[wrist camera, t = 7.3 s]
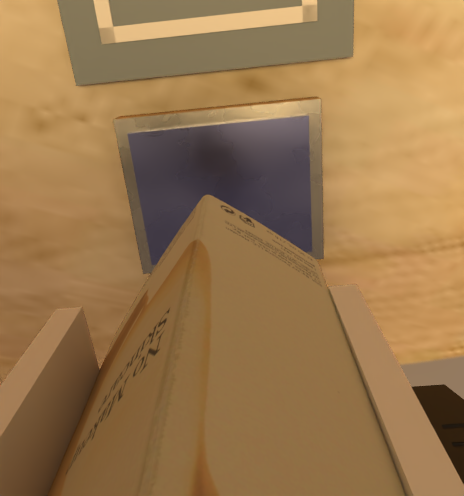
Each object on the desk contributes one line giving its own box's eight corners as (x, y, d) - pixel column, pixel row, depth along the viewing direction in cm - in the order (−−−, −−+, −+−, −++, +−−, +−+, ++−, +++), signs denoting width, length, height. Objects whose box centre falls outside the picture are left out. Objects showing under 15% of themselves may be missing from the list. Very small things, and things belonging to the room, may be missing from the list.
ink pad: (147, 263, 31) (141, 277, 29) (119, 116, 27) (110, 120, 25) (319, 249, 30) (324, 261, 28) (316, 96, 26) (322, 99, 24)
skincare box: (205, 186, 13) (13, 1021, 2) (322, 258, 14) (710, 1112, 3) (108, 339, 15) (-261, 1159, 4) (215, 392, 16) (172, 1181, 5)
